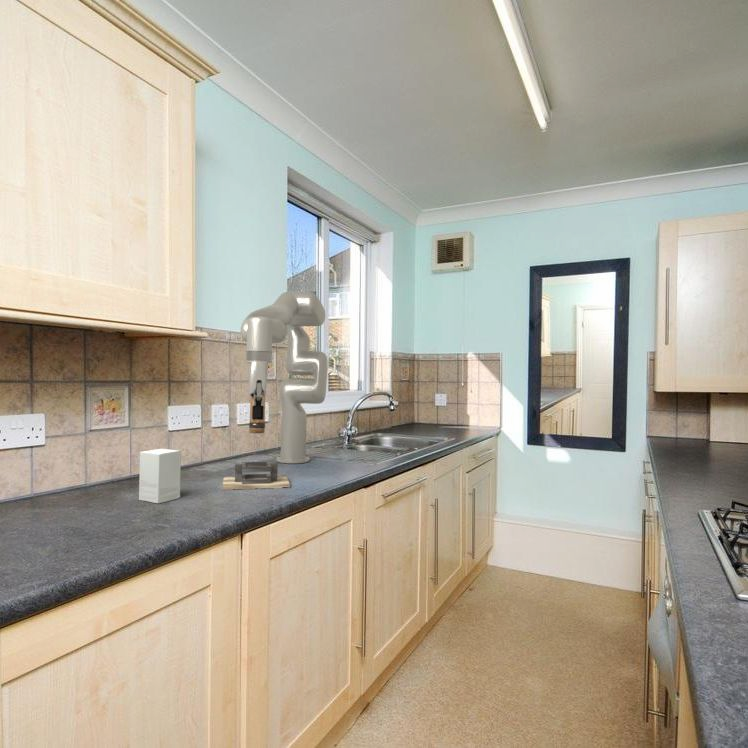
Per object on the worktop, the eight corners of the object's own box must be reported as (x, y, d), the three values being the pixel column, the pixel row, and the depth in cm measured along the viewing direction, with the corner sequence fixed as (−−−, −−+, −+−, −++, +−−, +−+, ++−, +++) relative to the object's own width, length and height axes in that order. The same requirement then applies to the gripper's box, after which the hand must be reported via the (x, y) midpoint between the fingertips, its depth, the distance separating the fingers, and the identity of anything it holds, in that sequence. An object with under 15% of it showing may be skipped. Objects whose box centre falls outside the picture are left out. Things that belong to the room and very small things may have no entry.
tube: (248, 431, 153) (249, 392, 153) (264, 431, 154) (265, 392, 154) (249, 433, 148) (250, 392, 148) (265, 433, 149) (266, 393, 149)
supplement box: (181, 498, 133) (182, 450, 133) (157, 504, 126) (158, 454, 126) (161, 494, 136) (162, 447, 136) (137, 500, 130) (138, 451, 130)
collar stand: (223, 480, 155) (224, 461, 155) (285, 478, 160) (286, 459, 160) (222, 490, 143) (222, 469, 143) (290, 487, 148) (290, 467, 148)
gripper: (245, 358, 158) (244, 416, 158) (246, 356, 142) (244, 421, 142) (270, 359, 160) (268, 416, 160) (273, 357, 144) (271, 421, 144)
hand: (257, 418), depth 151 cm, fingers closed on tube, 4 cm apart
